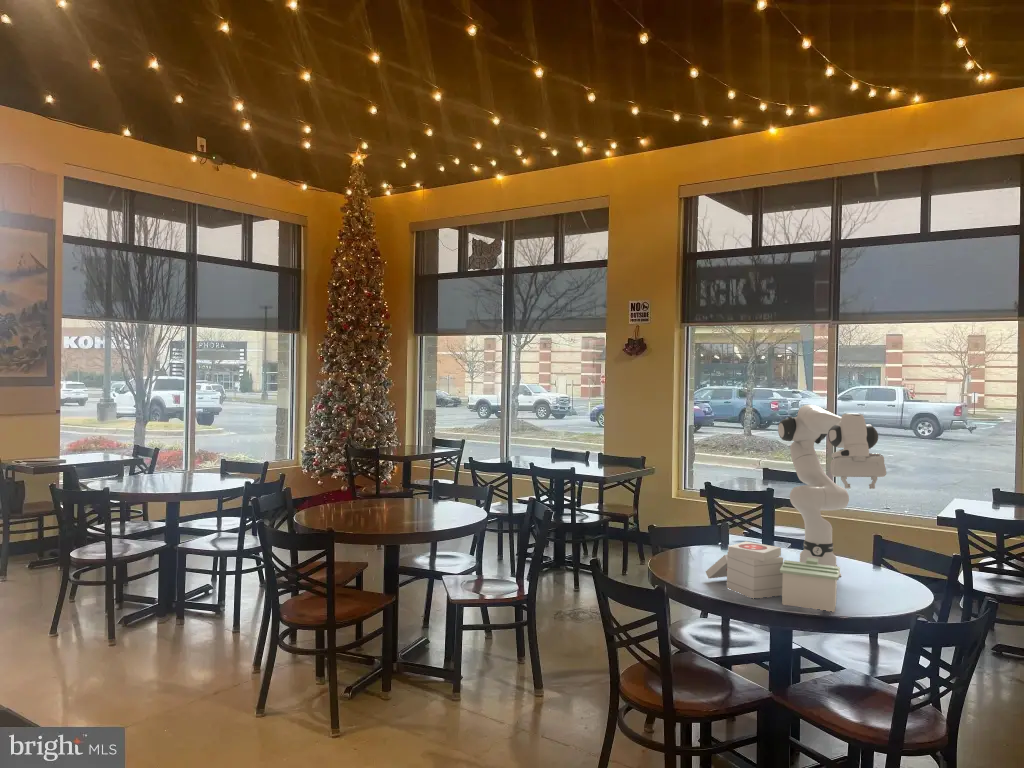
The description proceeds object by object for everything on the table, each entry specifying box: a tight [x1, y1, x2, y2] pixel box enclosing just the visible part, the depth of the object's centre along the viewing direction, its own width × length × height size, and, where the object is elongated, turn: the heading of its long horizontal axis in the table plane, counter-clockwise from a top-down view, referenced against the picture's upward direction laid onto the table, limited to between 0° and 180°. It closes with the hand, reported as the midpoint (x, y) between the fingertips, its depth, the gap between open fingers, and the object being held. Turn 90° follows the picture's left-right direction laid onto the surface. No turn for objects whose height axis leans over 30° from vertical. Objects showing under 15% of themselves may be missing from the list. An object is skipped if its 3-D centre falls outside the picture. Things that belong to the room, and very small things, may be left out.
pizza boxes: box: [705, 540, 784, 600], centre depth 286 cm, size 19×30×18 cm, turn 24°
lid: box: [780, 557, 841, 581], centre depth 271 cm, size 24×20×4 cm
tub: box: [781, 573, 838, 613], centre depth 268 cm, size 16×18×12 cm
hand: (860, 488), depth 274 cm, fingers open, 8 cm apart
